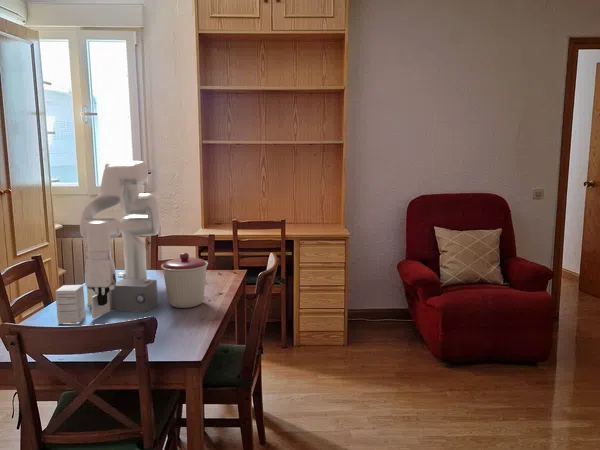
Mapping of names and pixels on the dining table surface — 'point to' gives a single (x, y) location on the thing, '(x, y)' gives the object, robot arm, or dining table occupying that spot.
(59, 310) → the supplement box
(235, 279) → the dining table surface
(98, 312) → the side door
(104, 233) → the robot arm
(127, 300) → the block
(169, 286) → the canister
